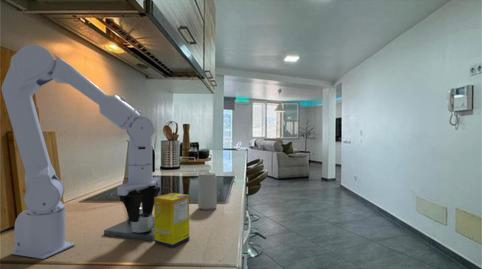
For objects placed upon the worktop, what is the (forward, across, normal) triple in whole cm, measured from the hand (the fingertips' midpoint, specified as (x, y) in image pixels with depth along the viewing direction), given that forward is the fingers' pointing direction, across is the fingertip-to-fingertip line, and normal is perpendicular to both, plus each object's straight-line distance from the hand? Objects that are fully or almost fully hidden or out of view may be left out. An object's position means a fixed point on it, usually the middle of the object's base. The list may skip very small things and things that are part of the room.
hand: (140, 218), depth 73 cm
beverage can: (+5, +29, -5) cm, 30 cm away
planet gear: (+3, 0, 0) cm, 3 cm away
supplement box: (+5, -1, -10) cm, 11 cm away
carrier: (+4, +5, +2) cm, 7 cm away
